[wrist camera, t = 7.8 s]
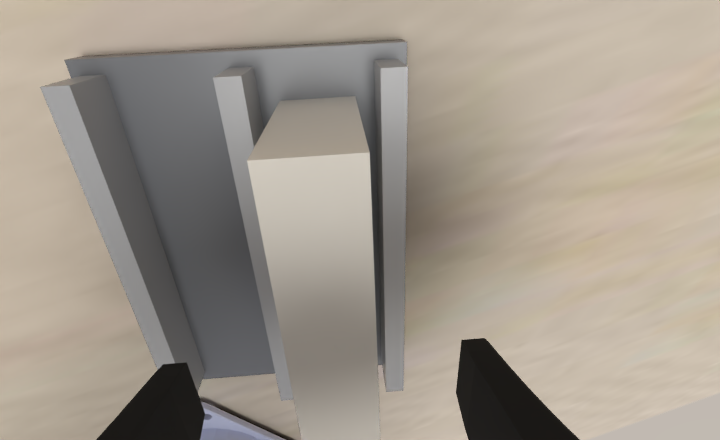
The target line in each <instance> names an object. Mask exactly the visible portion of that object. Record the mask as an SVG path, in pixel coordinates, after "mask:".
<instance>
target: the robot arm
mask: <svg viewBox="0 0 720 440" xmlns="http://www.w3.org/2000/svg"><path fill="white" fill-rule="evenodd" d="M456 394H457V398H458V402H459V406H460V410H461V414H462V418H463V422H464V426H465V430H466V433H467V436H468V439H469V440H579V439H578V438H577V437H576V436H575V435H574V434H573V433H572V432H571V431H570V430H569V429H568V428H567V427H566V426H565V425H564V424H563V423H562V422H561V421H560V420H559V419H558V418H557V417H556V416H555V415H554V414H553V413H552V412H551V411H550V410H549V409H548V408H547V407H546V406H545V405H544V404H543V403H542V402H541V400H540V399H539V398H538V397H537V396H536V395H535V394H534V393H533V392H532V391H531V390H530V389H529V388H528V387H527V386H526V384H525V383H524V382H523V381H522V380H521V379H520V378H519V377H518V376H517V374H516V373H515V372H514V371H513V370H512V369H511V368H510V366H509V365H508V364H507V363H506V362H505V361H504V360H503V358H502V357H501V356H500V355H499V354H498V353H497V351H496V350H495V349H494V348H493V347H492V345H491V344H490V343H489V342H488V341H487V340H486V339H485V338H481V339H469V340H462V342H461V352H460V361H459V370H458V379H457V389H456ZM97 440H286V439H283V438H281V437H279V436H277V435H275V434H273V433H270V432H268V431H266V430H264V429H262V428H260V427H257V426H255V425H253V424H251V423H249V422H246V421H244V420H242V419H240V418H238V417H236V416H233V415H231V414H229V413H227V412H225V411H223V410H220V409H218V408H216V407H214V406H212V405H210V404H207V403H205V402H201V401H200V398H199V395H198V392H197V390H196V387H195V384H194V381H193V378H192V376H191V373H190V370H189V367H188V364H187V362H185V363H172V364H163V365H162V366H161V367H160V368H159V369H158V370H157V371H156V373H155V374H154V375H153V376H152V377H151V378H150V379H149V380H148V382H147V383H146V384H145V385H144V386H143V387H142V389H141V390H140V391H139V392H138V393H137V394H136V395H135V397H134V398H133V399H132V400H131V401H130V402H129V404H128V405H127V406H126V407H125V408H124V409H123V410H122V412H121V413H120V414H119V415H118V416H117V417H116V418H115V420H114V421H113V422H112V423H111V424H110V425H109V426H108V427H107V428H106V430H105V431H104V432H103V433H102V434H101V435H100V436H99V437H98V438H97Z"/></svg>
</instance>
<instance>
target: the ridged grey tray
mask: <svg viewBox="0 0 720 440" xmlns="http://www.w3.org/2000/svg"><path fill="white" fill-rule="evenodd" d="M65 63H66V65H67V68H68V71H69V73H70V76H71V79H67V80H64V81H60V82H56V83H53V84H49V85H46V86H42V87H40V88H41V90H42V93H43V95H44V97H45V100H46V102H47V105H48V107H49V109H50V112H51V114H52V117H53V119H54V122H55V124H56V126H57V129H58V131H59V134H60V136H61V138H62V141H63V143H64V146H65V148H66V150H67V153H68V155H69V158H70V160H71V162H72V165H73V167H74V170H75V172H76V174H77V177H78V179H79V182H80V184H81V186H82V189H83V191H84V194H85V196H86V198H87V201H88V203H89V206H90V208H91V210H92V213H93V215H94V218H95V220H96V222H97V225H98V227H99V230H100V232H101V234H102V237H103V239H104V242H105V244H106V247H107V249H108V251H109V254H110V256H111V259H112V261H113V263H114V266H115V268H116V271H117V273H118V275H119V278H120V280H121V283H122V285H123V287H124V290H125V292H126V295H127V297H128V299H129V302H130V304H131V307H132V309H133V311H134V314H135V316H136V319H137V321H138V323H139V326H140V328H141V331H142V333H143V335H144V338H145V340H146V343H147V345H148V347H149V350H150V352H151V355H152V357H153V359H154V362H155V364H156V367H157V369H159V368H160V367H161V366H162V365H163V364H172V363H185V362H187V364H188V367H189V370H190V373H191V376H192V378H193V381H194V384H195V387H196V390H197V392H198V390H199V387H200V384H201V381H202V379H211V378H223V377H236V376H248V375H260V374H273V373H275V374H276V378H277V383H278V388H279V393H280V397H281V401H282V400H294V398H293V393H292V388H291V383H290V378H289V373H288V368H287V363H286V358H285V352H284V347H283V342H282V337H281V332H280V327H279V322H278V317H277V312H276V306H275V301H274V296H273V291H272V286H271V281H270V276H269V271H268V266H267V261H266V255H265V250H264V245H263V240H262V235H261V230H260V225H259V220H258V215H257V209H256V204H255V199H254V194H253V189H252V184H251V179H250V174H249V169H248V163H247V160H248V158H249V156H250V154H251V152H252V151H253V149H254V147H255V145H256V143H257V142H258V140H259V138H260V136H261V134H262V132H263V131H264V129H265V127H266V125H267V123H268V122H269V120H270V118H271V116H272V114H273V112H274V111H275V109H276V107H277V105H278V103H279V102H280V101H285V100H301V99H317V98H333V97H349V96H355V97H356V101H357V105H358V109H359V113H360V117H361V121H362V125H363V128H364V132H365V136H366V140H367V144H368V148H369V152H370V174H371V200H372V226H373V253H374V279H375V305H376V331H377V358H378V365H382V366H383V373H384V380H385V387H386V392H391V391H403V385H404V316H405V246H406V176H407V107H408V66H407V42H406V41H404V40H386V41H367V42H348V43H329V44H310V45H291V46H272V47H253V48H234V49H215V50H196V51H176V52H157V53H138V54H119V55H100V56H82V57H77V58H72V59H67V60H65Z"/></svg>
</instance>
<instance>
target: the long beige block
mask: <svg viewBox="0 0 720 440" xmlns="http://www.w3.org/2000/svg"><path fill="white" fill-rule="evenodd" d="M247 163H248V169H249V174H250V179H251V184H252V189H253V194H254V199H255V204H256V209H257V215H258V220H259V225H260V230H261V235H262V240H263V245H264V250H265V255H266V261H267V266H268V271H269V276H270V281H271V286H272V291H273V296H274V301H275V306H276V312H277V317H278V322H279V327H280V332H281V337H282V342H283V347H284V352H285V358H286V363H287V368H288V373H289V378H290V383H291V388H292V393H293V398H294V404H295V409H296V414H297V419H298V424H299V429H300V434H301V439H302V440H381V437H380V410H379V384H378V358H377V331H376V305H375V279H374V253H373V226H372V200H371V174H370V152H369V148H368V144H367V140H366V136H365V132H364V128H363V125H362V121H361V117H360V113H359V109H358V105H357V101H356V97H355V96H349V97H333V98H317V99H301V100H285V101H280V102H279V103H278V105H277V107H276V109H275V111H274V112H273V114H272V116H271V118H270V120H269V122H268V123H267V125H266V127H265V129H264V131H263V132H262V134H261V136H260V138H259V140H258V142H257V143H256V145H255V147H254V149H253V151H252V152H251V154H250V156H249V158H248V160H247Z"/></svg>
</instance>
